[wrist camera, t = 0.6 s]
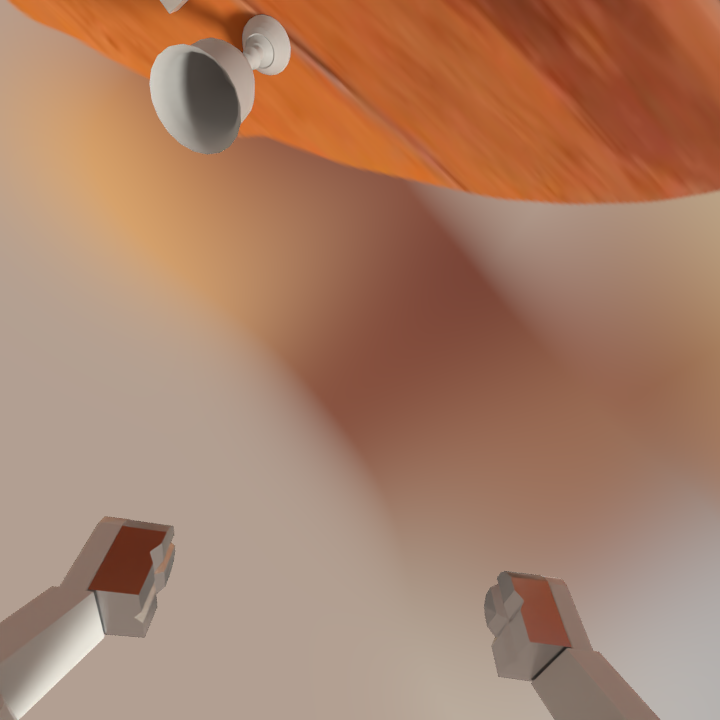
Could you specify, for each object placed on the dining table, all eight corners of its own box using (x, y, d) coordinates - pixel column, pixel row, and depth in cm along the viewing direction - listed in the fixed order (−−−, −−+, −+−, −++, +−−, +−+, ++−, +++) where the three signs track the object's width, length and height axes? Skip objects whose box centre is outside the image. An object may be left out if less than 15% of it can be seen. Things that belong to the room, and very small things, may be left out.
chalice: (290, 97, 47) (235, 167, 35) (230, 71, 46) (151, 134, 34) (306, 18, 42) (247, 68, 30) (238, -14, 41) (147, 25, 28)
